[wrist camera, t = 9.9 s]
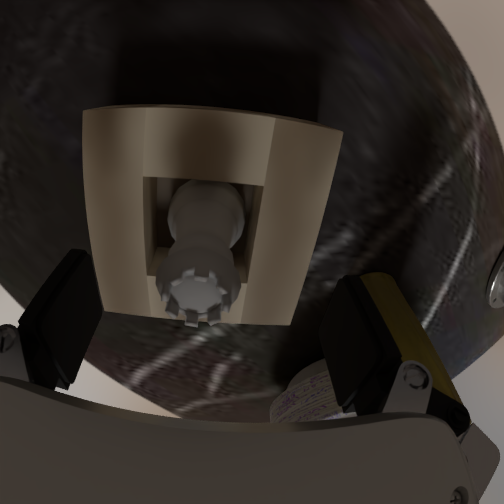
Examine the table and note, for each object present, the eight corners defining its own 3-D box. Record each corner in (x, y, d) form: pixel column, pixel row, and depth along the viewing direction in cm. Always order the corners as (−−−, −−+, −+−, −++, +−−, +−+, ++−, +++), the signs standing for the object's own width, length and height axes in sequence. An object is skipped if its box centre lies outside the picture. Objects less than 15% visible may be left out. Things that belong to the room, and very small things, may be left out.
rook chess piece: (230, 162, 15) (234, 227, 8) (254, 229, 17) (274, 326, 10) (158, 190, 15) (110, 271, 9) (188, 252, 18) (171, 352, 11)
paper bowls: (369, 394, 33) (385, 440, 27) (263, 412, 32) (270, 465, 26) (409, 322, 25) (442, 379, 19) (268, 342, 24) (281, 420, 18)
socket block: (317, 122, 15) (343, 132, 11) (280, 286, 21) (289, 325, 18) (114, 105, 13) (83, 110, 10) (121, 274, 19) (104, 310, 16)
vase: (347, 268, 21) (433, 438, 9) (405, 272, 22) (494, 405, 9) (323, 324, 24) (373, 475, 12) (378, 323, 25) (438, 449, 13)
